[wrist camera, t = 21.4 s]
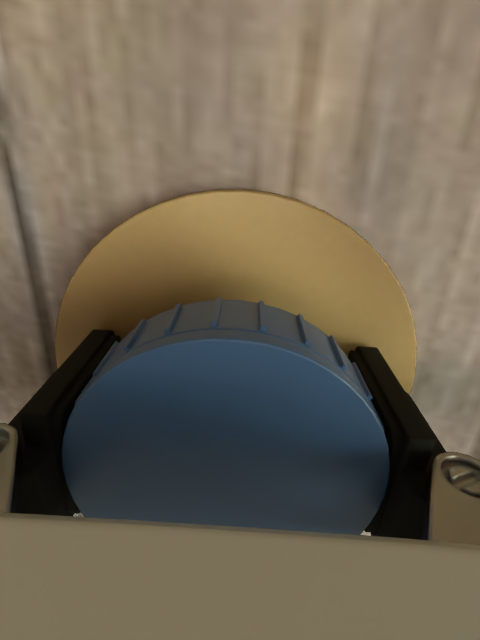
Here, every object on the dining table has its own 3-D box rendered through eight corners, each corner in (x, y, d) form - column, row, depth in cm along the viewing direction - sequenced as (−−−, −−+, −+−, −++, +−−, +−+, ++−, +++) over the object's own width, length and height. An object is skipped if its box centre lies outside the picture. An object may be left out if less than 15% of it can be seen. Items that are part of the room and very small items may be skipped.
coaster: (370, 500, 14) (374, 512, 14) (84, 482, 14) (78, 493, 14) (457, 202, 10) (468, 204, 9) (33, 175, 10) (22, 177, 9)
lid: (81, 282, 8) (34, 318, 6) (398, 310, 8) (439, 354, 6) (103, 505, 11) (75, 572, 9) (337, 524, 11) (353, 594, 9)
